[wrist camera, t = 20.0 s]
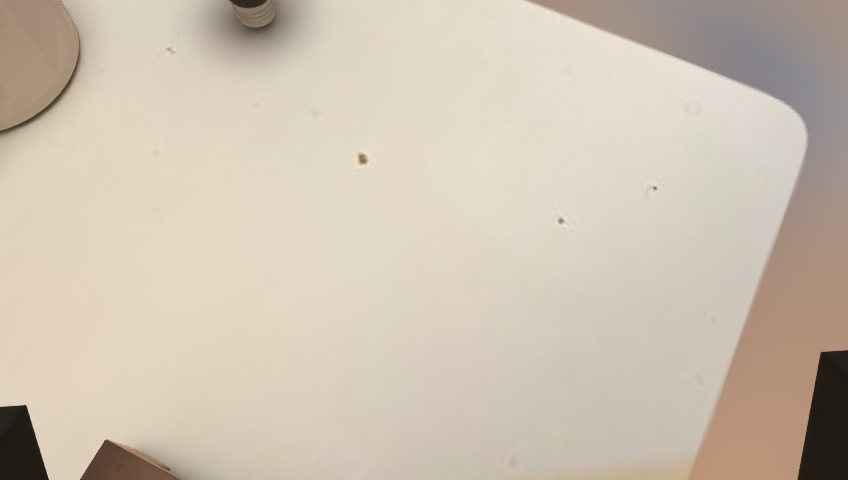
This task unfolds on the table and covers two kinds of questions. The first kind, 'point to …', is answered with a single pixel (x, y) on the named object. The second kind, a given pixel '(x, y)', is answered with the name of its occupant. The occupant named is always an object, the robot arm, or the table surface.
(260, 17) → the light bulb
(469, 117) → the table surface
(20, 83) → the mug
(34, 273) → the table surface
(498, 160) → the table surface
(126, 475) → the shelf
